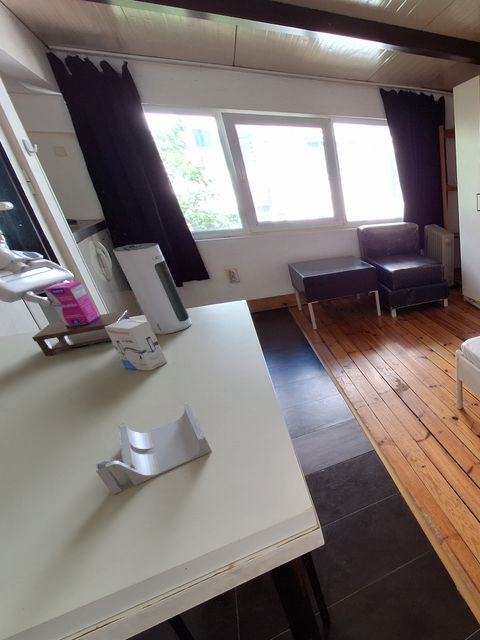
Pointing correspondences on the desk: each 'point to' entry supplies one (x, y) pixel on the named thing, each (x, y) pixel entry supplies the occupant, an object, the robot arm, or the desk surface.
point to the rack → (77, 333)
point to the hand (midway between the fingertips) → (64, 298)
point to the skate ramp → (156, 450)
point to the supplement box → (72, 303)
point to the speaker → (153, 287)
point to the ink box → (136, 344)
